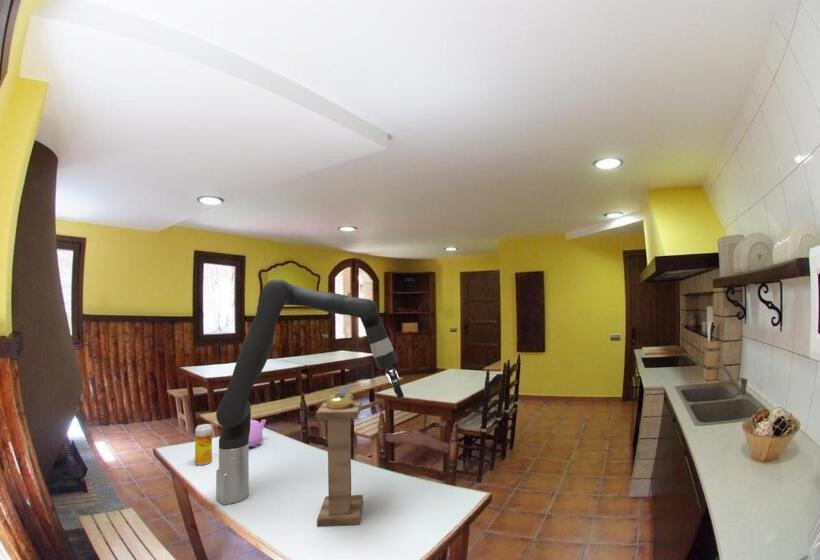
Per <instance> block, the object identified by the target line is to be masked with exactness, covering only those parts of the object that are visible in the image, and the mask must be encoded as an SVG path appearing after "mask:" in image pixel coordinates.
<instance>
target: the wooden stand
mask: <svg viewBox="0 0 820 560" xmlns="http://www.w3.org/2000/svg"><path fill="white" fill-rule="evenodd" d="M361 409H362V400H360V399H359V400H353V406H352V407H351V408H347V409H341V410H332V409H328V408H327V401H323V402H322V404H321V405H320V407H319V408H318V410H317V411H316V412H315V420H316V421H327V473H328V474H327V476H328V477H327V479H328V480H327V483H328V486H327V487H328V490H327V491H328V493H327V494H328V496H326V495H325V497H324V499H323V502H322V505H321V508H320V509H319V510H320V511H319V513H318V516H317V519H316V527H317V528H318V527H319V528H322V527H340V526H342V527H343V526H345V527H346V526H359V525H360V524H361V523H360V521H361V516H362V509H363V503H364V494H352V450H351V449H352V444H351V442H352V440H351V420H353V419H354V420H355V419H357V420H358V418H359V415H360V412H361Z"/></svg>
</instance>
